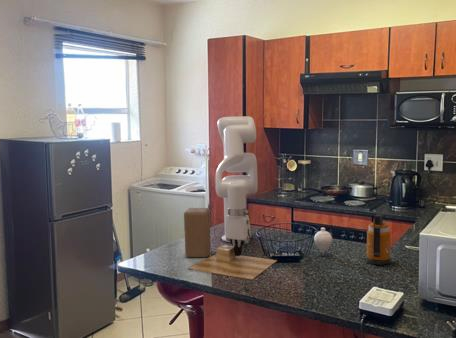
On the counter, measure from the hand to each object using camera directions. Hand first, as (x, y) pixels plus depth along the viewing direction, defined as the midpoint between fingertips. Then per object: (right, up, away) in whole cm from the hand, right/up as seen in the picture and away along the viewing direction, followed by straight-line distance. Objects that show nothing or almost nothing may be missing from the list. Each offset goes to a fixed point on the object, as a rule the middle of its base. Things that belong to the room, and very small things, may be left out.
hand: (238, 255), depth 188 cm
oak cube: (-5, -2, +2) cm, 6 cm away
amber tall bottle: (+56, -2, -7) cm, 57 cm away
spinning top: (+37, -1, +5) cm, 37 cm away
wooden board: (-2, -3, -5) cm, 6 cm away
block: (-17, -2, +10) cm, 20 cm away
